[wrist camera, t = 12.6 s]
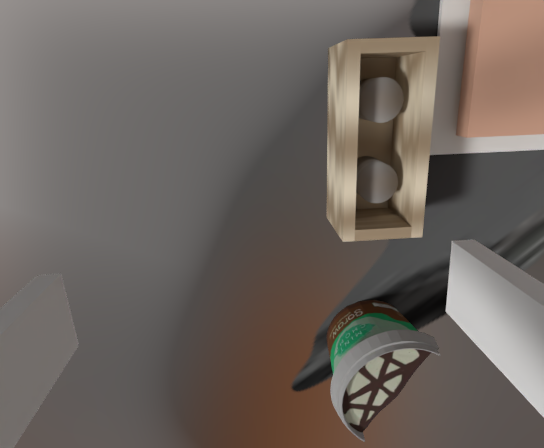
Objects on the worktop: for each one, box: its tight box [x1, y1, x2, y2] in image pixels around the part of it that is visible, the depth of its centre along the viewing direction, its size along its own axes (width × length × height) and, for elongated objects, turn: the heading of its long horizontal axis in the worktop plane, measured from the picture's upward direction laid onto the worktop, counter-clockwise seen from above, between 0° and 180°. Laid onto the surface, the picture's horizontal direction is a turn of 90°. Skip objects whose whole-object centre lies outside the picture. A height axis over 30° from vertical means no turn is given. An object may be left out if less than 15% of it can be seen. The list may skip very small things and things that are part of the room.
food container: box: [327, 300, 440, 441], centre depth 41 cm, size 12×6×10 cm, turn 147°
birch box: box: [327, 36, 440, 242], centre depth 36 cm, size 16×7×7 cm, turn 2°
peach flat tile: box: [456, 0, 544, 138], centre depth 35 cm, size 18×10×3 cm, turn 2°
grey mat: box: [430, 0, 544, 155], centre depth 37 cm, size 22×14×1 cm, turn 2°
